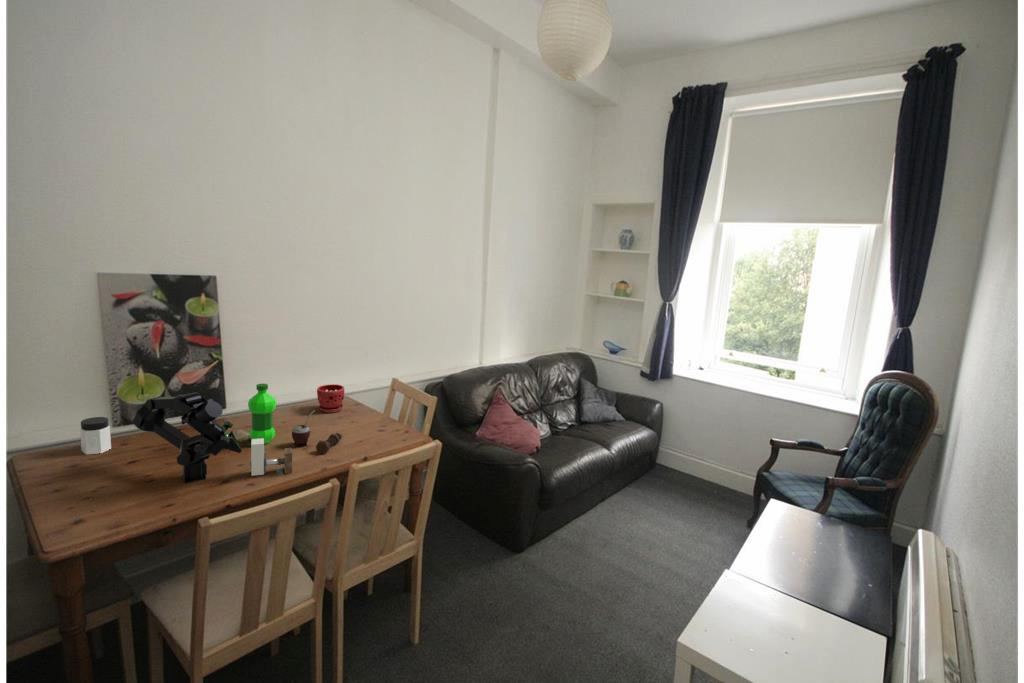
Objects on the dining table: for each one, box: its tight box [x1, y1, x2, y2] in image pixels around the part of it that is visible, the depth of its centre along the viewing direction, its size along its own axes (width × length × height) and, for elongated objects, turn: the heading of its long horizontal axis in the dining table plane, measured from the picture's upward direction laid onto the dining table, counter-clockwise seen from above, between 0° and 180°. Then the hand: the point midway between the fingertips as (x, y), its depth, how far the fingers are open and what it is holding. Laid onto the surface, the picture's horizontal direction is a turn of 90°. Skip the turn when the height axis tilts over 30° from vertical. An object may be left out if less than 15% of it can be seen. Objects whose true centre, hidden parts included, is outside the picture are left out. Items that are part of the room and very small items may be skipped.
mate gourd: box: [291, 409, 316, 448], centre depth 215 cm, size 8×8×15 cm
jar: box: [79, 416, 112, 455], centre depth 194 cm, size 9×8×12 cm
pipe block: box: [276, 447, 293, 475], centre depth 191 cm, size 5×5×8 cm
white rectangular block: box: [250, 438, 267, 477], centre depth 187 cm, size 5×5×12 cm
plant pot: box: [316, 384, 345, 413], centre depth 260 cm, size 13×13×12 cm
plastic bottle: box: [247, 383, 277, 445], centre depth 213 cm, size 10×10×25 cm
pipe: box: [249, 457, 285, 468], centre depth 189 cm, size 12×3×3 cm, turn 115°
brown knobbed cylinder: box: [315, 432, 343, 455], centre depth 217 cm, size 6×5×15 cm
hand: (240, 451), depth 184 cm, fingers closed
